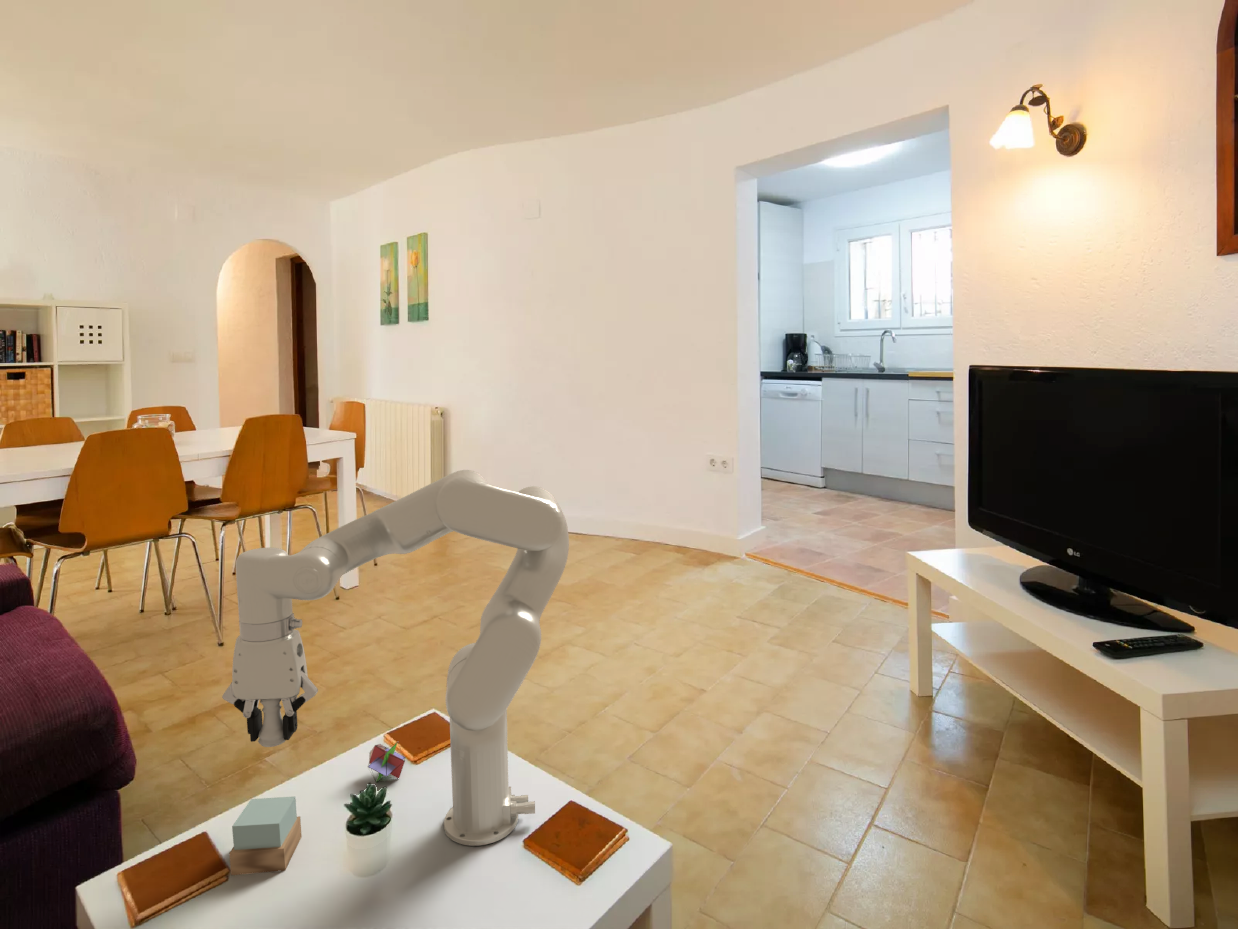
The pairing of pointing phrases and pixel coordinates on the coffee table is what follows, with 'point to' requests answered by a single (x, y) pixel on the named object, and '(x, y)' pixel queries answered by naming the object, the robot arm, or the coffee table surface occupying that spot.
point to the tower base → (266, 855)
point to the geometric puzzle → (386, 761)
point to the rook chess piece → (271, 724)
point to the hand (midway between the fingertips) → (273, 735)
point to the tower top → (264, 823)
